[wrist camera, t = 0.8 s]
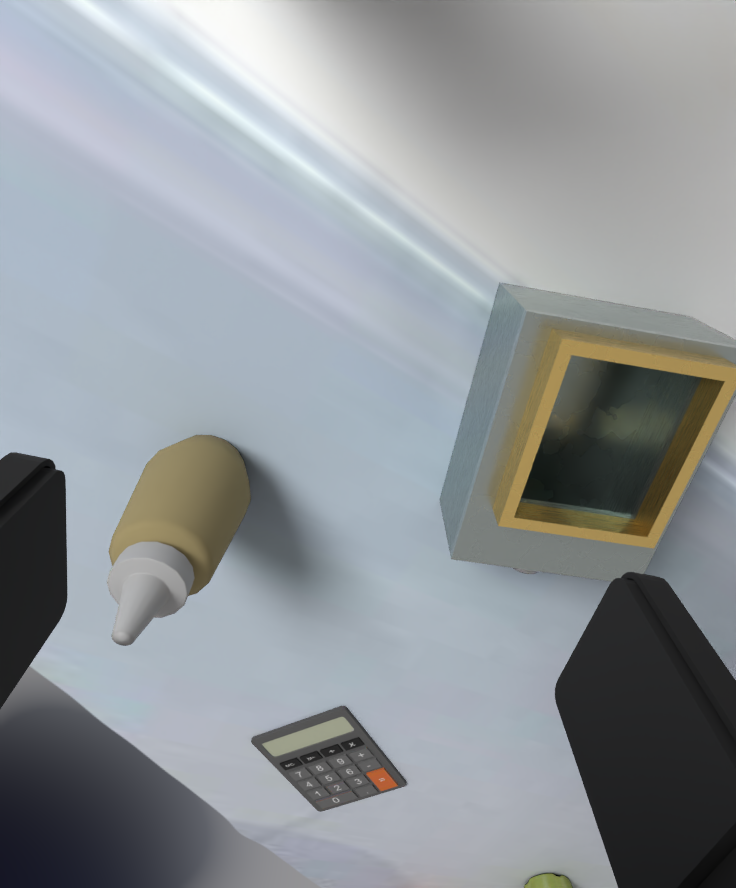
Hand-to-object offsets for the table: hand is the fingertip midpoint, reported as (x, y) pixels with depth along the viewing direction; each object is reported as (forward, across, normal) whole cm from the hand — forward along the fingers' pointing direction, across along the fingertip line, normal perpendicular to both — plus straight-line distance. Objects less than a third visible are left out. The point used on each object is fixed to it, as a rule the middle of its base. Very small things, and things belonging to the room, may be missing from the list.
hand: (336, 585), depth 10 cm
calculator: (+33, -8, +53) cm, 63 cm away
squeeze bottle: (+32, +9, +18) cm, 38 cm away
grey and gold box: (+32, -17, +9) cm, 37 cm away
